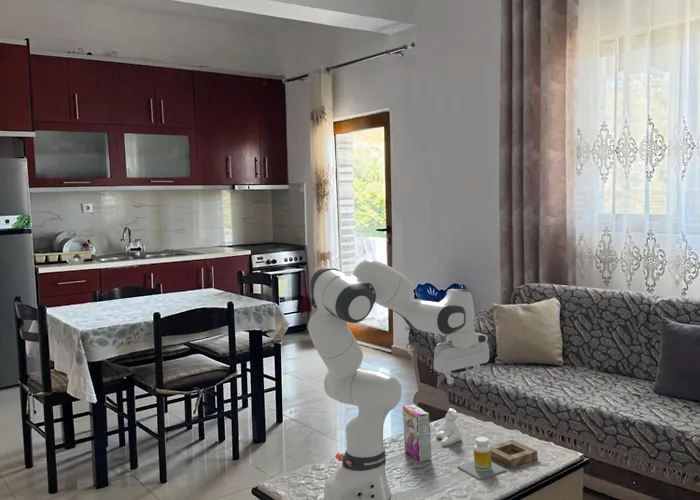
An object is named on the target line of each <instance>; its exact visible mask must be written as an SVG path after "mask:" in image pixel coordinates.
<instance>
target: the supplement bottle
mask: <svg viewBox="0 0 700 500" xmlns="http://www.w3.org/2000/svg"><path fill="white" fill-rule="evenodd" d="M490 446H491V445H489V439H488V438H487V437H485V436H484V437H483V436H479V437H475V445H474V446H473V459H474V460H473V461H474V467H475V469H476V470H478V471H489V470H491V462H492V460H491V447H490Z"/></svg>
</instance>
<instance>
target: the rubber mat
mask: <svg viewBox="0 0 700 500" xmlns="http://www.w3.org/2000/svg"><path fill="white" fill-rule="evenodd" d="M457 468H458V470H461V471H463V472H464V473H466V474H468V475H470V476H472V477H474V478H475V479H477V480H479V481H482V480H483V479H484V480H485V479H487V478H490V477H494V476H496V475H499V474H502V473H505V472H507V470H508V469H506V468H504V467H502V465H501V466H500V465H498V464H496V462H494V461H491V470H489V471H478V470H476V469H475V467H474V460H473V461H470V462H468V463H464V464H460V465H458V466H457Z"/></svg>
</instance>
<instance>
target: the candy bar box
mask: <svg viewBox="0 0 700 500" xmlns="http://www.w3.org/2000/svg"><path fill="white" fill-rule="evenodd" d="M402 418H403V419H402V421H403V437H404V452H406V453H407V454H408V455H410V457H412V458H414V459H415V461H417V462H418V463H423V462H428V461H431V460H432V447H431V427H430V424H431V423H430V413H429V412H427V411H426V410H424V409H422V408H421V407H419V406H418V405H416V404H414V403H413V404H408V405H404V406H402Z"/></svg>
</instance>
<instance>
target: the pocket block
mask: <svg viewBox="0 0 700 500" xmlns="http://www.w3.org/2000/svg"><path fill="white" fill-rule="evenodd" d="M489 446H490V447H491V461H492V462H494V463H498V464H500V465H501V466H504V467H506V468H508V469H509V470H511V469H514V468H517V467H520V466H523V465H526V464H529V463H532V462H535V461H537V460H539V459H538V450H536V449H534V448H531V447H529V446H527V445H524V444H522V443H520V442H518V441H516V440H514V439H509V440H507V441H502V442H501V443H500V442H499V443H496V444H493V445H489ZM511 453H512V454H511ZM510 454H511V455H510Z"/></svg>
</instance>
